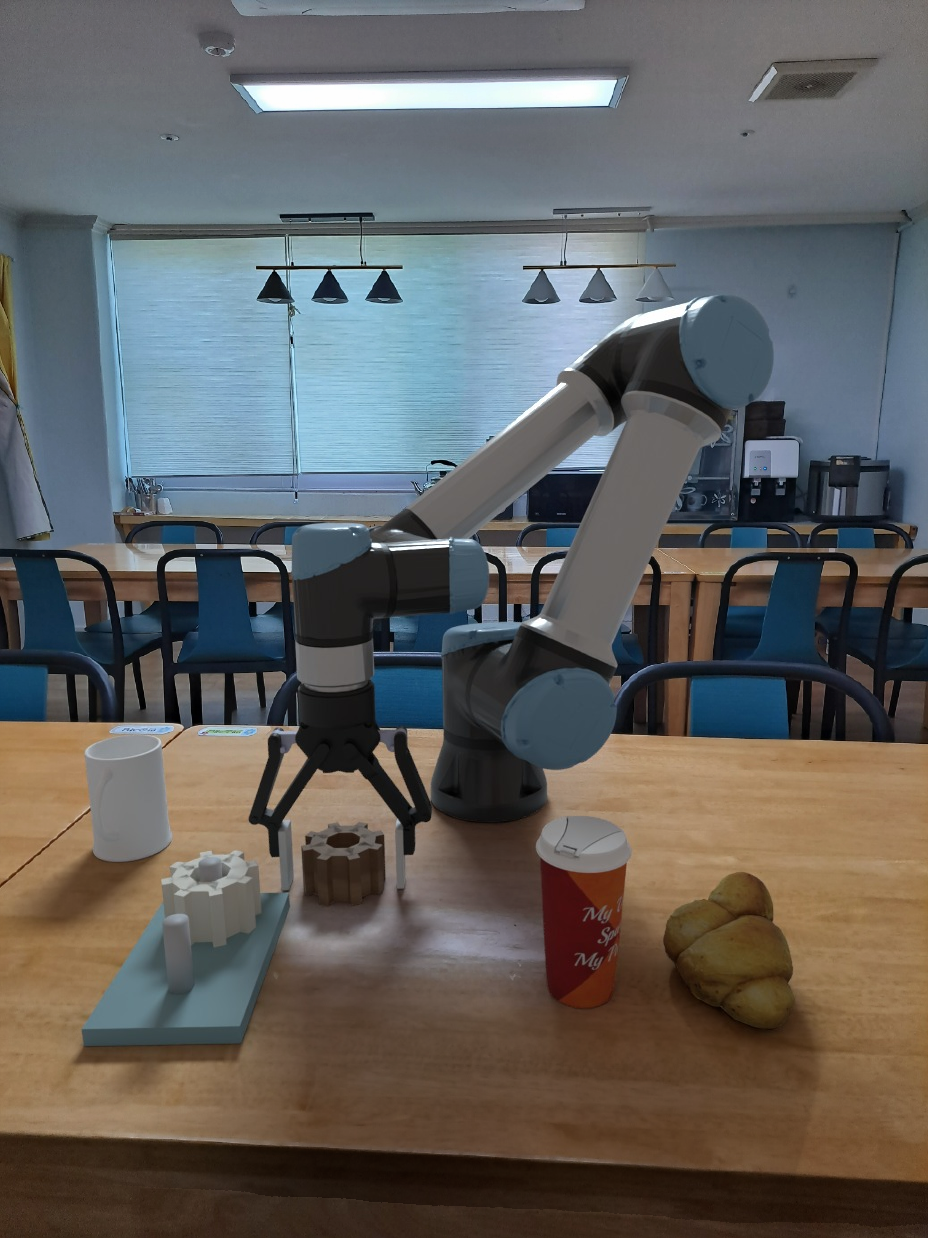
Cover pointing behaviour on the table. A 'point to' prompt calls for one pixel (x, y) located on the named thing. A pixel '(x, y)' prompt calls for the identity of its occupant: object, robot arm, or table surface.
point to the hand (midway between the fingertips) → (344, 882)
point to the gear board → (202, 1004)
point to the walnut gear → (343, 863)
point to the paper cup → (582, 906)
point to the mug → (127, 797)
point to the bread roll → (734, 952)
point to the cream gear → (214, 897)
